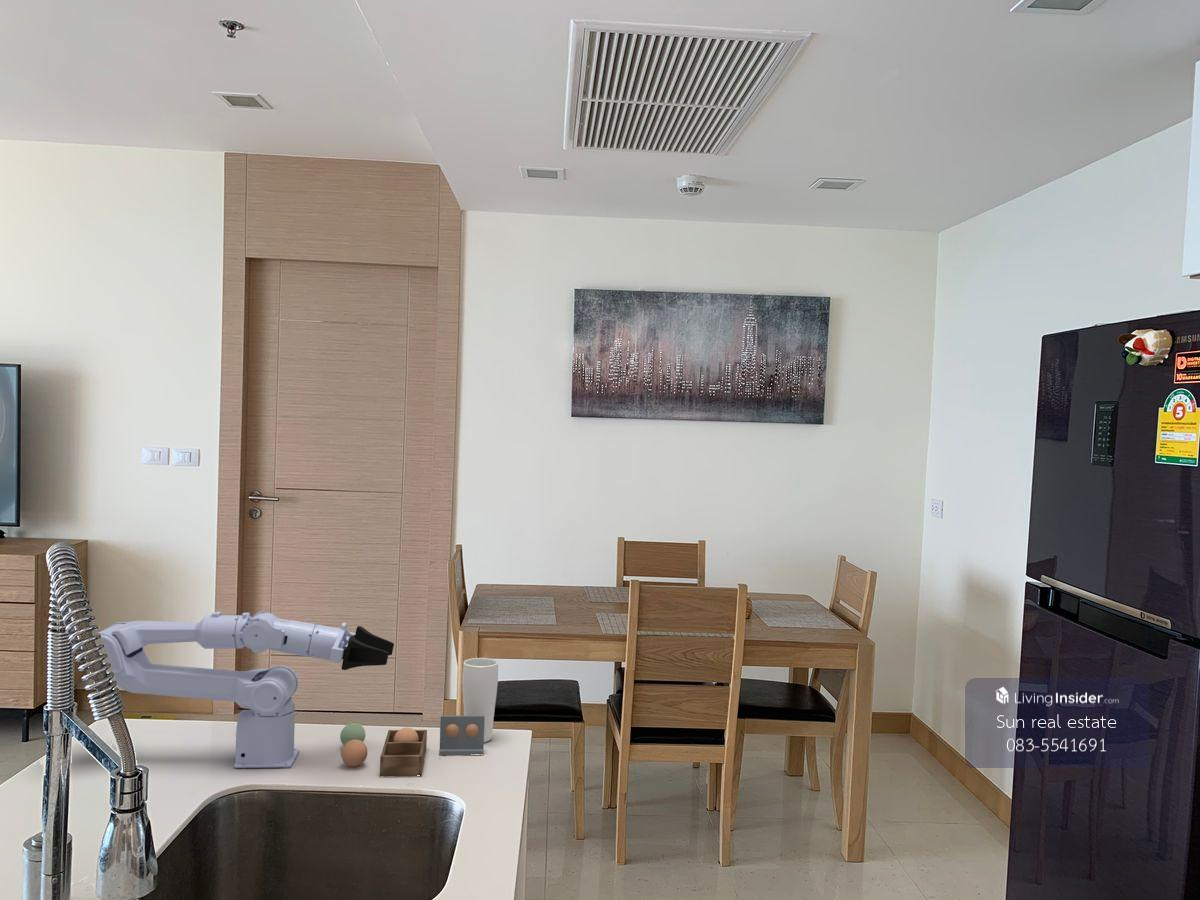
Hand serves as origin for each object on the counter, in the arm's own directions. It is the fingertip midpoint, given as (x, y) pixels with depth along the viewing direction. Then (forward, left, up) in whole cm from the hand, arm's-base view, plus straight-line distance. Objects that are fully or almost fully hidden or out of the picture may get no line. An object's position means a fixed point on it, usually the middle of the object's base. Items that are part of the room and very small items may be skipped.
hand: (390, 653), depth 163 cm
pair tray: (+3, -1, -19) cm, 19 cm away
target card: (+13, +4, -19) cm, 23 cm away
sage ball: (-7, +7, -17) cm, 19 cm away
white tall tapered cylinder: (+16, +11, -19) cm, 27 cm away
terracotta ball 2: (+3, +2, -16) cm, 17 cm away
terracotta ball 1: (-5, -2, -17) cm, 18 cm away
